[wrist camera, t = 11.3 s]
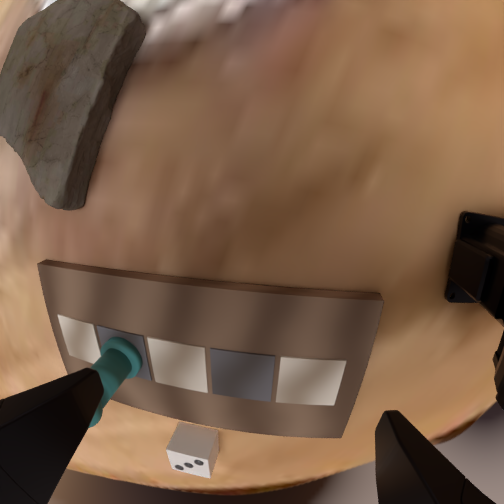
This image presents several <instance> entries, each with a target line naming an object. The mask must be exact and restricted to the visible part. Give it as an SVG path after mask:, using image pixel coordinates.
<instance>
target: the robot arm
mask: <svg viewBox="0 0 504 504" xmlns="http://www.w3.org/2000/svg"><path fill="white" fill-rule="evenodd" d="M467 216H468V220H467V222H466V220H465V219H466V217H467ZM452 293H453V295H452V296H451V297H450V295H451V294H452ZM445 299H446V300H447V301H448V302H451V303H479V304H480V305H481V306H482V307H483V308H484V309H485V310H487V311H488V312H489V313H490V314H491V315H492V316H493V317H494V318H495V319H496V320H497V321H498V322H499V323H500V324H501V325H502V326H503V327H504V218H499V217H495V216H490V215H484V214H479V213H474V212H468V211H464V212H462V214H461V216H460V221H459V228H458V234H457V240H456V242H455V247H454V252H453V257H452V262H451V267H450V271H449V279H448V284H447V288H446V291H445ZM493 362H494V366H495V376H494V381H495V385H496V390H497V392H498V393H497V395H496V400H497V401H498V403H499V405H500V406H501V407H502V409H503V410H504V331H503V334H502V337H501V341H500V344H499V347H498V349H497V351H496V352H495V354H494V357H493ZM103 394H104V387H103V384H102V381H101V378H100V375H99V372H98V371H97V370H94V369H92V368H88V367H87V368H84V369H81V370H79V371H76V372H74V373H71V374H69V375H66V376H64V377H61V378H58V379H56V380H53V381H51V382H48V383H45V384H43V385H40V386H37V387H35V388H32V389H29V390H27V391H24V392H21V393H18V394H16V395H13V396H10V397H7V398H5V399H1V400H0V504H48V502H49V500H50V498H51V496H52V494H53V492H54V490H55V488H56V486H57V484H58V482H59V480H60V479H61V477H62V474H63V473H64V471H65V469H66V467H67V466H68V464H69V462H70V460H71V458H72V456H73V455H74V453H75V451H76V449H77V447H78V446H79V444H80V442H81V440H82V439H83V437H84V435H85V433H86V432H87V430H88V428H89V426H90V424H91V421H92V419H93V417H94V414H95V412H96V410H97V408H98V405H99V403H100V401H101V399H102V396H103ZM375 456H376V484H377V492H378V502H379V504H496V503H495V502H493V501H492V500H491V499H489V498H488V497H487V496H486V495H484V494H483V493H482V492H481V491H480V490H479V489H478V488H477V487H475V486H474V485H473V484H472V483H471V482H470V481H469V480H468V479H467V478H466V479H465V476H464V475H463V474H462V473H461V472H460V471H459V470H458V469H456V467H455V466H454V465H453V464H452V463H451V462H449V460H448V459H447V458H446V457H444V456H443V455H442V454H441V452H440V451H438V450H437V449H436V448H435V447H434V446H433V445H432V444H431V443H430V442H429V441H428V440H427V439H426V438H425V437H424V436H423V435H422V434H421V433H420V432H419V431H418V430H417V429H416V428H415V427H414V426H413V425H412V424H411V423H410V422H409V421H408V420H407V419H406V418H405V417H404V416H403V415H402V414H401V413H400V412H399V411H398V410H388V411H385V412H384V413H383V414H382V417H381V419H380V421H379V423H378V425H377V427H376V430H375Z"/></svg>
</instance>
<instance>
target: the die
mask: <svg viewBox="0 0 504 504" xmlns="http://www.w3.org/2000/svg"><path fill="white" fill-rule="evenodd" d="M166 451H167V454H168V457H169V460H170V463H171V467H172V469H174V470H178V471H182V472H186V473H189V474H194V475H198V476H202V477H207V478H211V475H212V472H213V469H214V466H215V462H216V459H217V456H218V453H219V439H218V430H215V429H210V428H205V427H201V426H196V425H191V424H187V423H183V422H179V423H178V425H177V428H176V430H175V432H174V434H173V436H172V438H171V440H170V442H169V444H168V446H167V448H166Z"/></svg>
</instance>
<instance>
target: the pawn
mask: <svg viewBox="0 0 504 504" xmlns="http://www.w3.org/2000/svg"><path fill="white" fill-rule="evenodd" d="M100 355H101V357H100V358H99V359H98V360H97V361H96V362H95V363H94V364H93V365H92V366H91V367H90V368H92V369H94V370H97V371H98V372H99V375H100V378H101V381H102V384H103V387H104V394H103V396H102V399H101V401H100V403H99V405H98V408H97V410H96V412H95V414H94V417H93V419H92V421H91V424H90V426H89V428H90V427H93V426H95V425H96V424H97V423H98V422H99V421H100V419H101V417H102V412H103V408H104V407H105V405H106V404H107V403H108V401H109V400H110V398H111V397H112V396H113V394H114V393H115V392H116V390H117V389H118V388H119V387H120V385H121V384H122V383H123V381H124V380H125V379H130V378H133V377H135V376H136V374H137V373H138V372H139V370H140V369H141V367H142V364H143V361H142V357H141V355H140V353H139V351H138V350H137V348H136V347H135V346H134V345H133V344H132V343H130V342H129V341H128V340H126V339H124V338H121V337H111V338H110V339H109V340H108V341H107V342H106V343H105V344H104V345H103V346H102V347H101V350H100Z"/></svg>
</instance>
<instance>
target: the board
mask: <svg viewBox="0 0 504 504" xmlns="http://www.w3.org/2000/svg"><path fill="white" fill-rule="evenodd" d="M37 265H38V271H39V276H40V281H41V286H42V290H43V295H44V299H45V303H46V307H47V311H48V315H49V318H50V322H51V326H52V329H53V332H54V336H55V339H56V342H57V345H58V348H59V351H60V354H61V357H62V360H63V363H64V365H65V368H66V371H67V373H68V375H69V374H71V373H74V372H76V371H79V370H81V369H84V368H87V367H88V368H90V367H91V366H92V365H93V364H94V363H95V362H96V361H97V360H98V359H99V358H100V357H101V355H100V350H101V347H102V346H103V345H104V344H105V343H106V342H107V341H108V340H109V339H110V338H111V337H121V338H124V339H126V340H128V341H129V342H130V343H132V344H133V345H134V346H135V347H136V348H137V350H138V351H139V353H140V355H141V357H142V361H143V364H142V367H141V369H140V370H139V372H138V373H137V374H136V376H135V377H133V378H130V379H125V380H124V381H123V383H122V384H121V385H120V387H119V388H118V389H117V390H116V392H115V393H114V394H113V396H112V397H111V398H110V399H111V400H114V401H117V402H120V403H123V404H126V405H129V406H132V407H135V408H138V409H142V410H145V411H148V412H152V413H155V414H159V415H163V416H167V417H170V418H174V419H179V420H183V421H187V422H192V423H196V424H201V425H206V426H211V427H217V428H223V429H229V430H235V431H242V432H249V433H257V434H266V435H276V436H289V437H306V438H341V437H342V435H343V433H344V430H345V428H346V425H347V422H348V420H349V417H350V415H351V412H352V409H353V407H354V404H355V401H356V398H357V395H358V392H359V390H360V387H361V384H362V380H363V377H364V374H365V371H366V368H367V365H368V361H369V358H370V354H371V351H372V347H373V344H374V340H375V336H376V333H377V329H378V325H379V321H380V316H381V312H382V308H383V303H384V300H383V298H382V296H381V295H380V293H365V292H348V291H332V290H317V289H303V288H290V287H277V286H265V285H254V284H242V283H232V282H221V281H211V280H201V279H192V278H182V277H173V276H164V275H155V274H147V273H139V272H131V271H123V270H115V269H107V268H100V267H92V266H85V265H78V264H71V263H64V262H57V261H51V260H44V261H42V262H40V263H38V264H37Z"/></svg>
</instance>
